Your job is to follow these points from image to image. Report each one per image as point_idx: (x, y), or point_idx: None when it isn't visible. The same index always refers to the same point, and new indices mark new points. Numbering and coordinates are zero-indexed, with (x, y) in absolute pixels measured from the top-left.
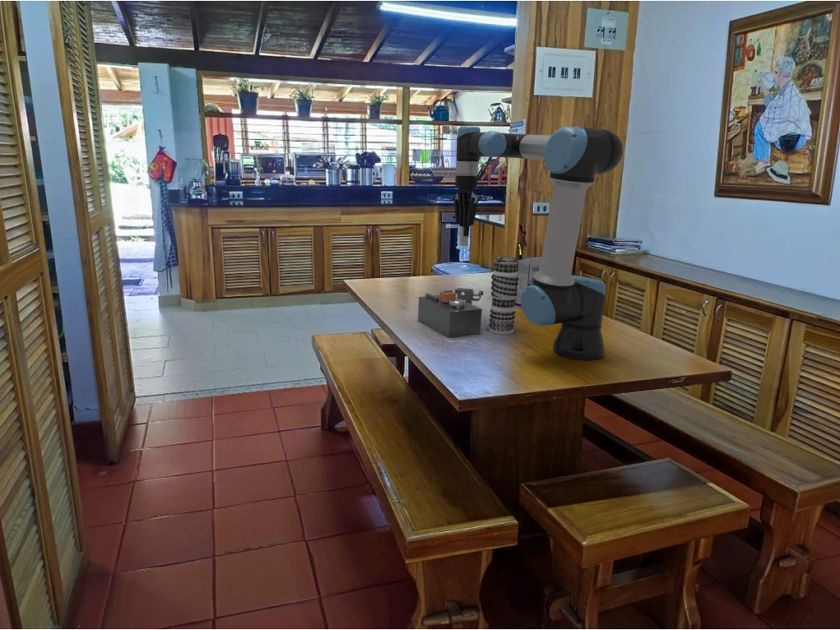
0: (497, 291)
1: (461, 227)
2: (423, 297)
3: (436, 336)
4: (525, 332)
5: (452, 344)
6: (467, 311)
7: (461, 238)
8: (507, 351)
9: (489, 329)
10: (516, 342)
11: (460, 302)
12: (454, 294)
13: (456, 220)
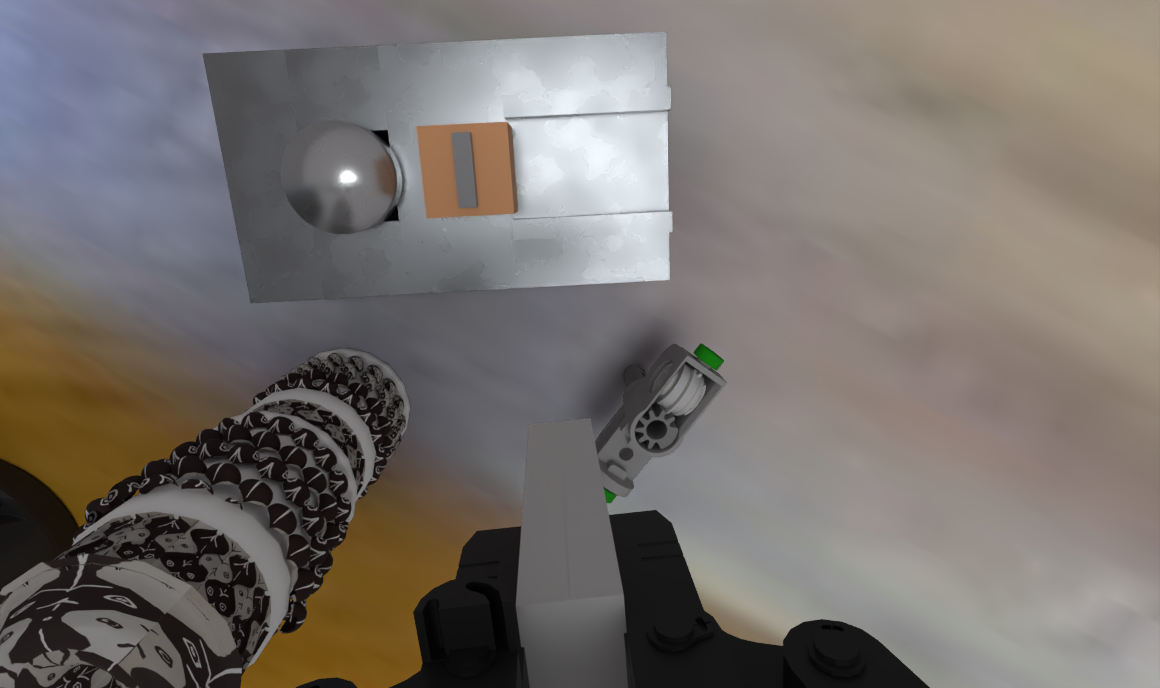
0: (196, 439)
1: (548, 589)
2: (638, 59)
3: (316, 24)
4: None
5: (162, 43)
6: (233, 195)
7: (535, 472)
8: (18, 261)
9: (357, 352)
10: (150, 375)
11: (288, 180)
12: (427, 206)
13: (873, 686)
